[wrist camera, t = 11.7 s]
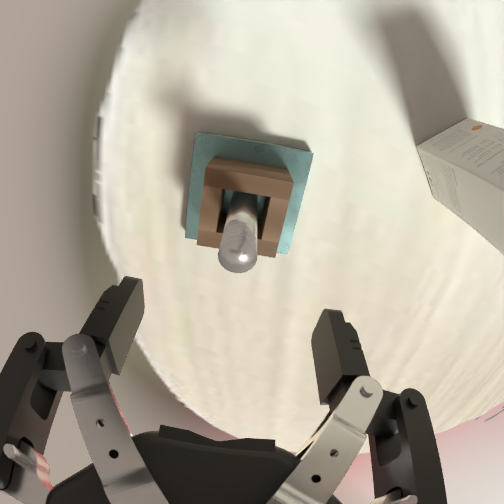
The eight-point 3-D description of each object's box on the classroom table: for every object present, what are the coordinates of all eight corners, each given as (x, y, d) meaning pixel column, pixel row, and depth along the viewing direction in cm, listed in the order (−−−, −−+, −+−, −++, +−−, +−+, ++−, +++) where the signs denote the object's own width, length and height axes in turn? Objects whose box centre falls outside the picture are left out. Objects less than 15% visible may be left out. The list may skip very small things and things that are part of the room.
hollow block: (213, 156, 23) (205, 167, 19) (288, 169, 23) (294, 182, 20) (204, 223, 26) (196, 244, 23) (272, 235, 26) (275, 257, 23)
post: (197, 132, 23) (155, 157, 13) (311, 151, 23) (348, 190, 14) (187, 233, 28) (154, 306, 18) (286, 249, 28) (299, 328, 19)
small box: (432, 198, 25) (510, 265, 14) (414, 145, 22) (507, 192, 11) (481, 168, 23) (561, 218, 11) (467, 116, 20) (560, 148, 9)
